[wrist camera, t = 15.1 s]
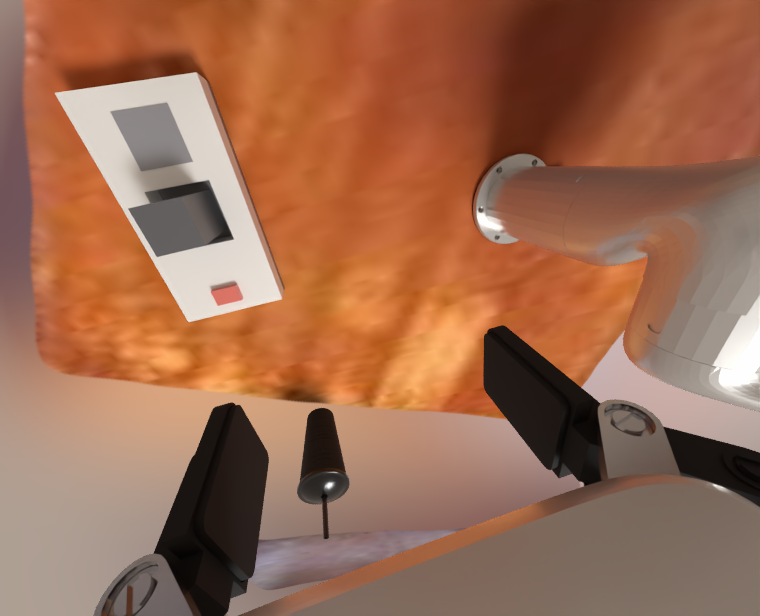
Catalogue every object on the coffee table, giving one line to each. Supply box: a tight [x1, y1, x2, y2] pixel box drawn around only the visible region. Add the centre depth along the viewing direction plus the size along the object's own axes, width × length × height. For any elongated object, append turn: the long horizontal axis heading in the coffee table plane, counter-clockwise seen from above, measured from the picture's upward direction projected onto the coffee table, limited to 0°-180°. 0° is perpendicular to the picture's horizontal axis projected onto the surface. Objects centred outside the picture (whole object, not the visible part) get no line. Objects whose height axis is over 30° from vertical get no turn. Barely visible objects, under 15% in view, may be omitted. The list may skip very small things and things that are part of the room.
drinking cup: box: [297, 408, 349, 539], centre depth 45 cm, size 8×8×20 cm
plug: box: [128, 190, 228, 257], centre depth 30 cm, size 4×4×9 cm
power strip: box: [55, 72, 284, 322], centre depth 33 cm, size 12×24×5 cm, turn 10°
